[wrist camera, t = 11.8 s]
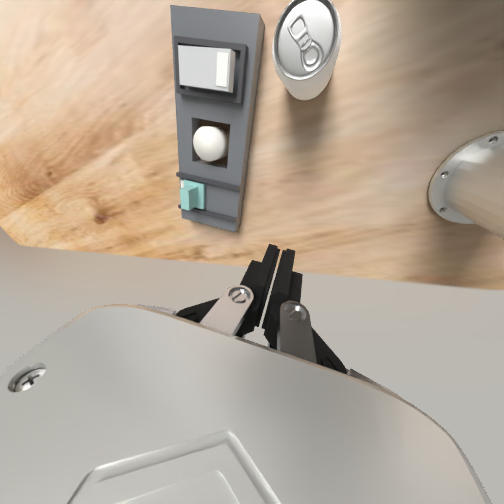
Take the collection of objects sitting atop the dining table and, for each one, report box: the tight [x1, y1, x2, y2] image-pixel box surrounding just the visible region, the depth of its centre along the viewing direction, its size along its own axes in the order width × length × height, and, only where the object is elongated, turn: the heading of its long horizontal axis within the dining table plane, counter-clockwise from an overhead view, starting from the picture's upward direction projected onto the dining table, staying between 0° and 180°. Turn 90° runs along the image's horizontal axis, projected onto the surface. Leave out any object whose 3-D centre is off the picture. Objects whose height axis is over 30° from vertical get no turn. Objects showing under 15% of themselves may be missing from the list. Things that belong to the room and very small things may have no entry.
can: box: [272, 0, 341, 100], centre depth 23 cm, size 6×6×12 cm
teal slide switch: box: [180, 179, 206, 210], centre depth 37 cm, size 4×5×4 cm
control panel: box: [170, 5, 265, 232], centre depth 34 cm, size 12×30×4 cm, turn 171°
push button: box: [193, 126, 229, 161], centre depth 34 cm, size 5×5×4 cm
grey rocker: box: [178, 45, 236, 93], centre depth 26 cm, size 8×4×1 cm, turn 82°
